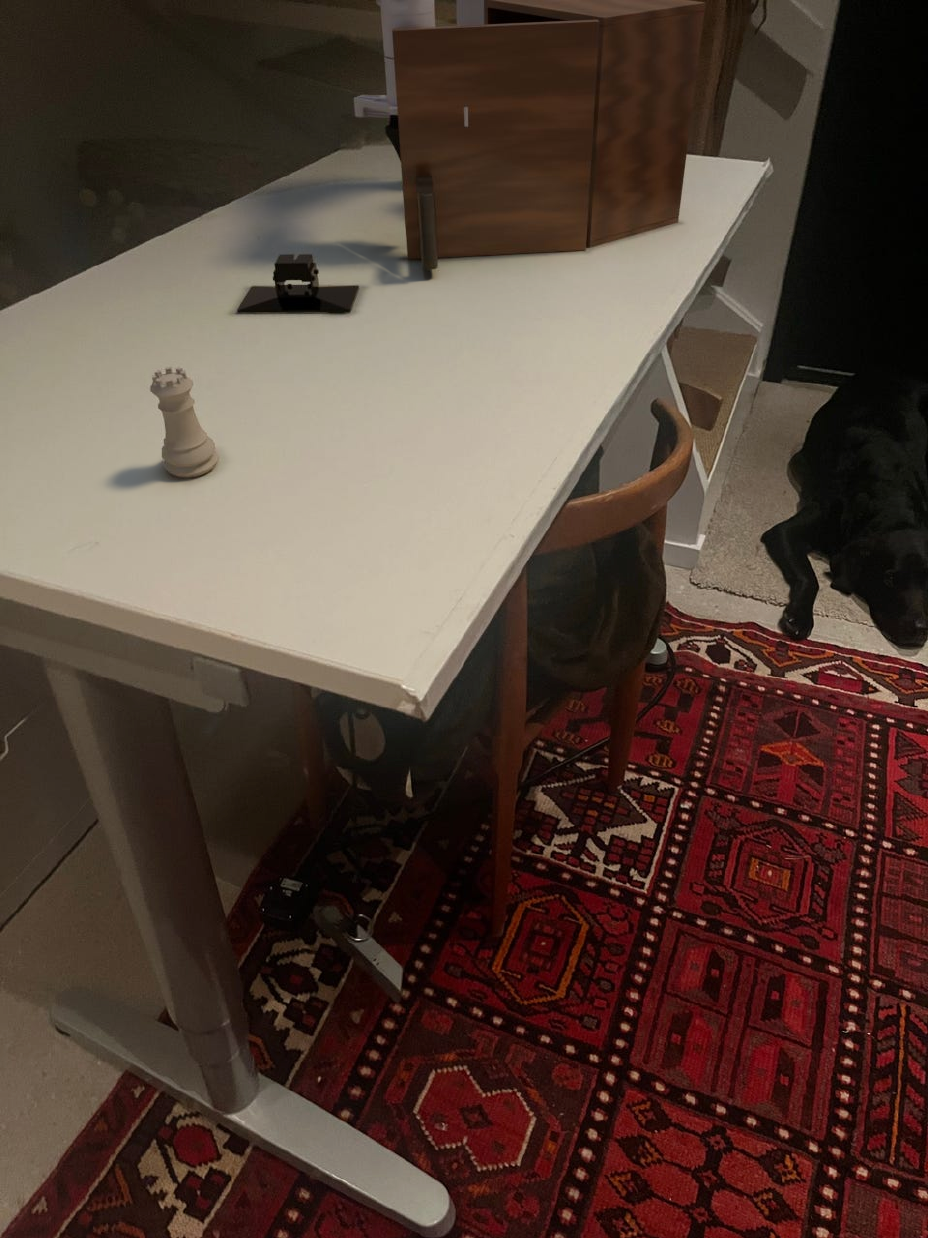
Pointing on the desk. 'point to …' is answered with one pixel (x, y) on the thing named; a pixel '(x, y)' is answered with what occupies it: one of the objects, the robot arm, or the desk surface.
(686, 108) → the cupboard
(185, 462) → the rook chess piece
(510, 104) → the cupboard door
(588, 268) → the desk surface
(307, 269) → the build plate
